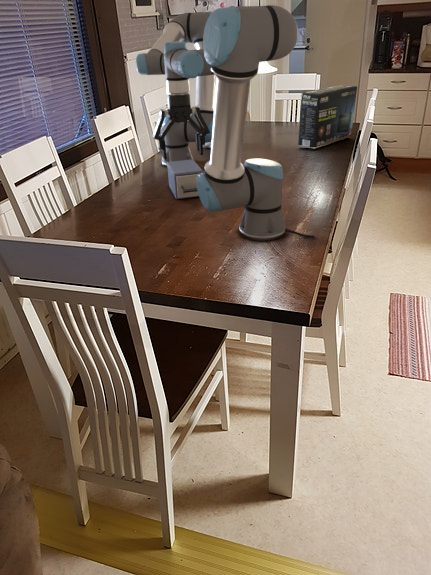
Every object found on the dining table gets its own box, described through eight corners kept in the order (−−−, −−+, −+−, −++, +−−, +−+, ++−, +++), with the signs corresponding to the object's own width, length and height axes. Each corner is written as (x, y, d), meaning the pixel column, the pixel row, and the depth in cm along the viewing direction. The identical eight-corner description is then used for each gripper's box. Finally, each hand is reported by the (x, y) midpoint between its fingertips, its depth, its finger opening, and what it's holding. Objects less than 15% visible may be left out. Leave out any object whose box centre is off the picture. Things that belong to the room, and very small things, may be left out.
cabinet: (203, 195, 181) (202, 170, 176) (176, 199, 179) (174, 173, 174) (194, 183, 195) (193, 159, 190) (169, 186, 193) (166, 162, 188)
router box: (314, 151, 231) (318, 94, 217) (296, 148, 237) (299, 92, 224) (352, 138, 251) (358, 85, 238) (335, 135, 258) (340, 83, 245)
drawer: (206, 200, 174) (205, 179, 170) (181, 203, 172) (179, 182, 168) (194, 183, 192) (193, 163, 188) (171, 185, 190) (169, 166, 186)
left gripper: (207, 91, 177) (209, 146, 188) (142, 95, 172) (148, 152, 183) (211, 93, 171) (213, 151, 182) (145, 98, 166) (151, 157, 177)
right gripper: (210, 88, 161) (212, 149, 172) (140, 95, 155) (147, 157, 166) (217, 91, 155) (219, 154, 166) (144, 98, 149) (151, 163, 160)
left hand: (181, 152), depth 183 cm, fingers open, 13 cm apart
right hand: (183, 156), depth 166 cm, fingers open, 13 cm apart
